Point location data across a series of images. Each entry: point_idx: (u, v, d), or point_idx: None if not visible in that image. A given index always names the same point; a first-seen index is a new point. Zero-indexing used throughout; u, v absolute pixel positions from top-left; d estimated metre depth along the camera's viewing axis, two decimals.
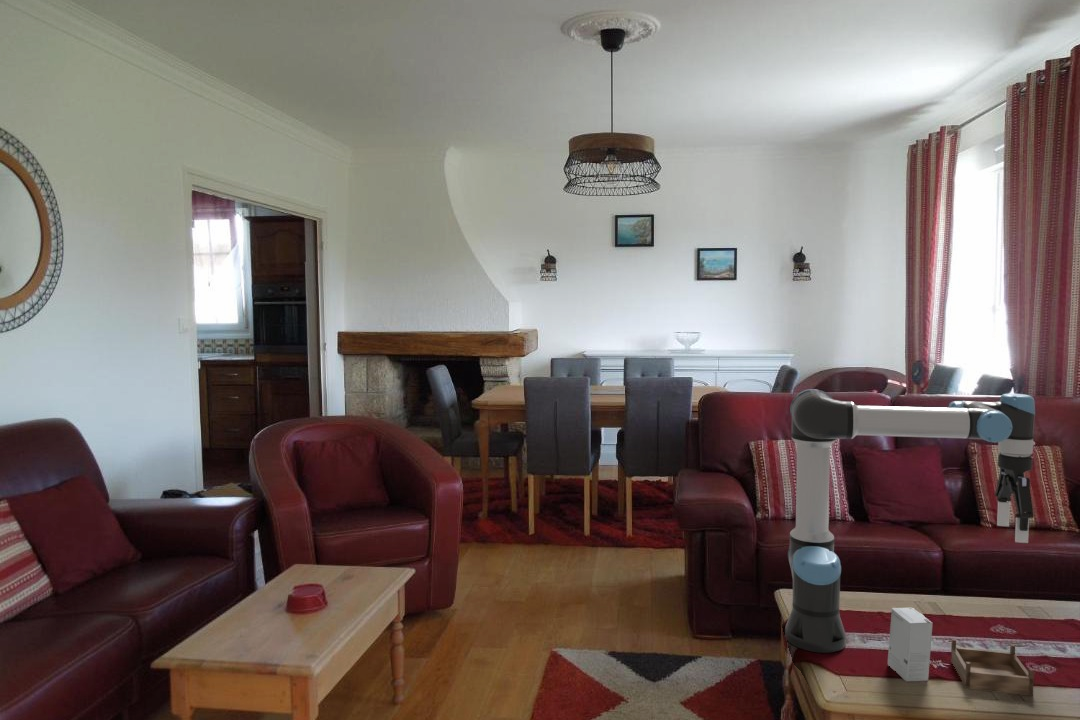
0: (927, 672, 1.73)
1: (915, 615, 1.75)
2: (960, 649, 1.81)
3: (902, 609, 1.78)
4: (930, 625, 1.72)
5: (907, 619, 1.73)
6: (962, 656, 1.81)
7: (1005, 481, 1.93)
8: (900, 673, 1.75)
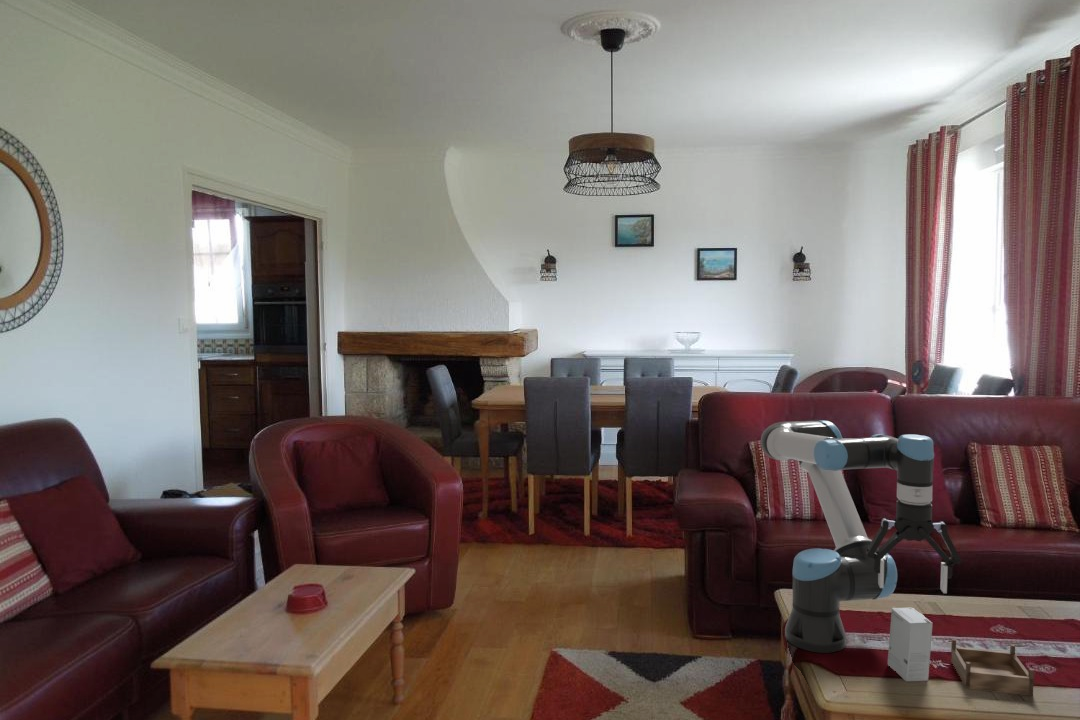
0: (927, 672, 1.73)
1: (915, 615, 1.75)
2: (960, 649, 1.81)
3: (902, 609, 1.78)
4: (930, 625, 1.72)
5: (907, 619, 1.73)
6: (962, 656, 1.81)
7: None
8: (900, 673, 1.75)
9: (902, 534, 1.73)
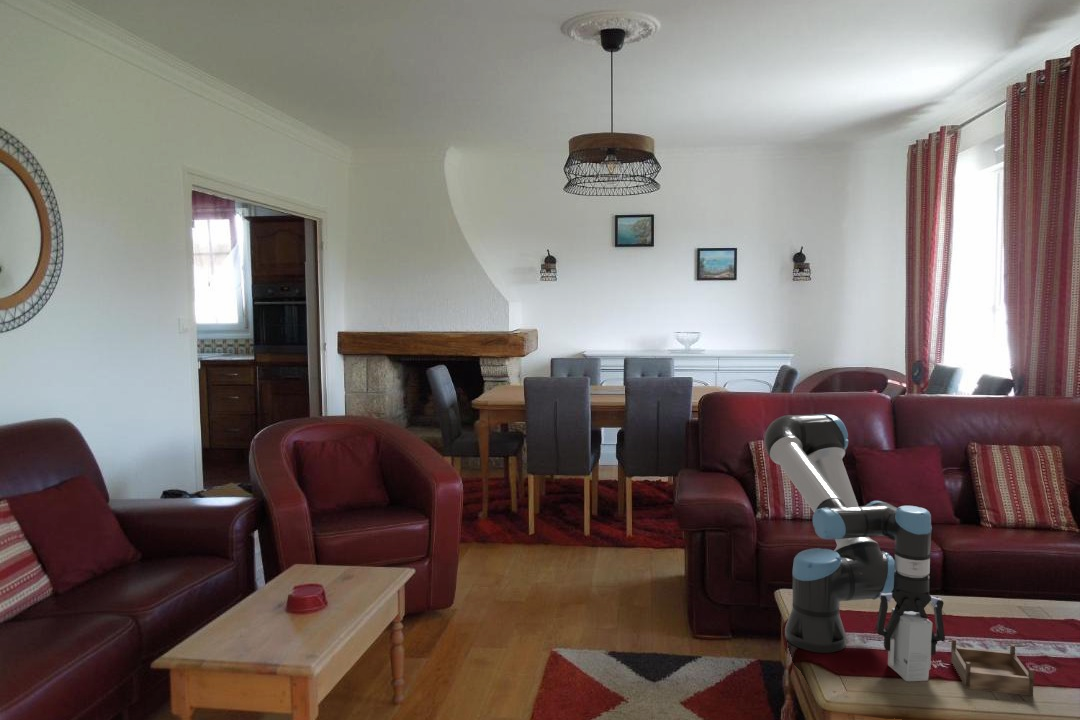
0: (927, 672, 1.73)
1: (915, 615, 1.75)
2: (960, 649, 1.81)
3: None
4: (930, 625, 1.72)
5: (907, 619, 1.73)
6: (962, 656, 1.81)
7: None
8: (900, 673, 1.75)
9: (902, 607, 1.75)
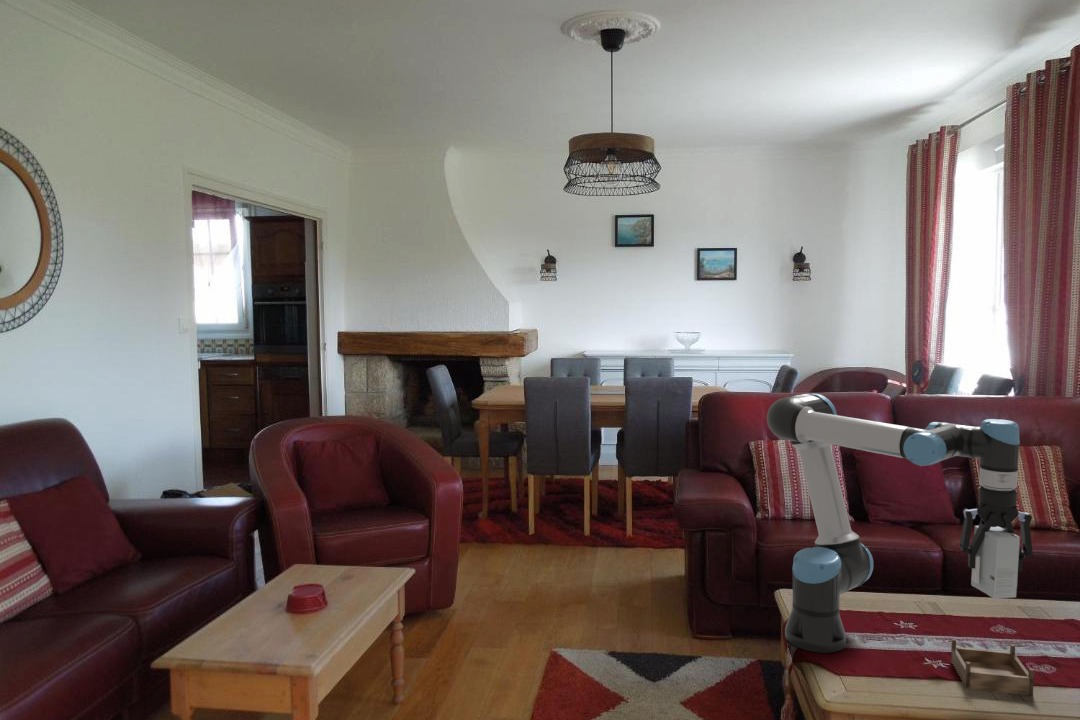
0: (1015, 588, 1.69)
1: (1001, 531, 1.71)
2: (960, 649, 1.81)
3: None
4: (1017, 539, 1.67)
5: (993, 534, 1.68)
6: (962, 656, 1.81)
7: None
8: (986, 591, 1.71)
9: (988, 522, 1.70)
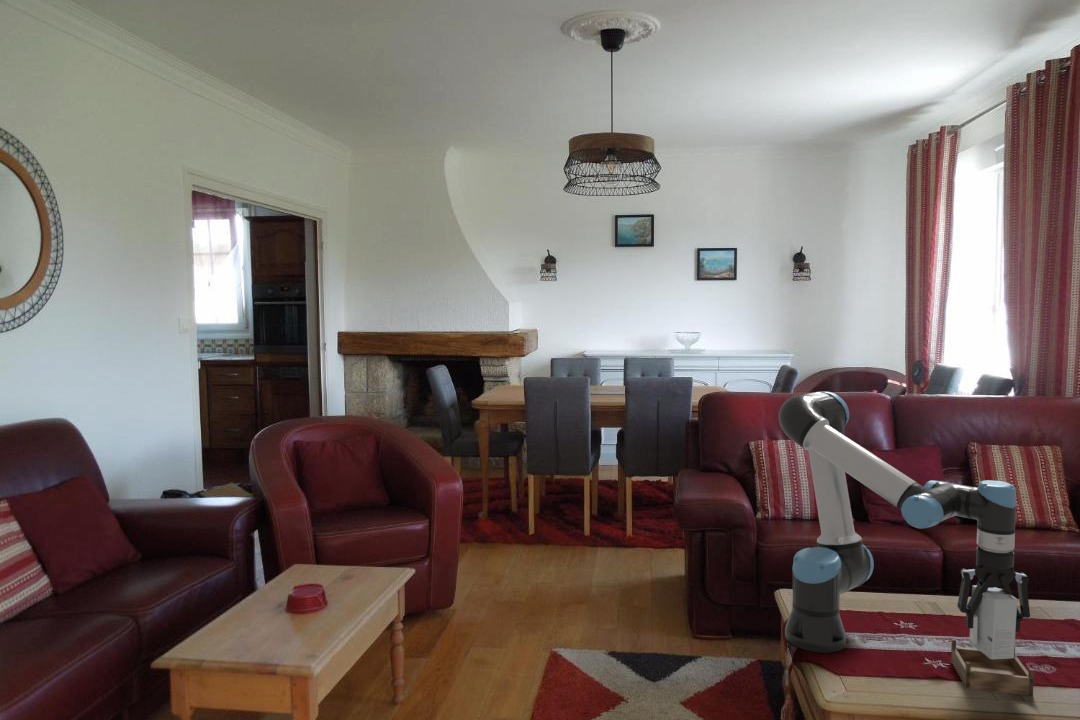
0: (1013, 649, 1.70)
1: (998, 591, 1.72)
2: (960, 649, 1.81)
3: None
4: (1015, 601, 1.68)
5: (991, 596, 1.70)
6: (962, 656, 1.81)
7: None
8: (984, 651, 1.72)
9: (985, 583, 1.71)
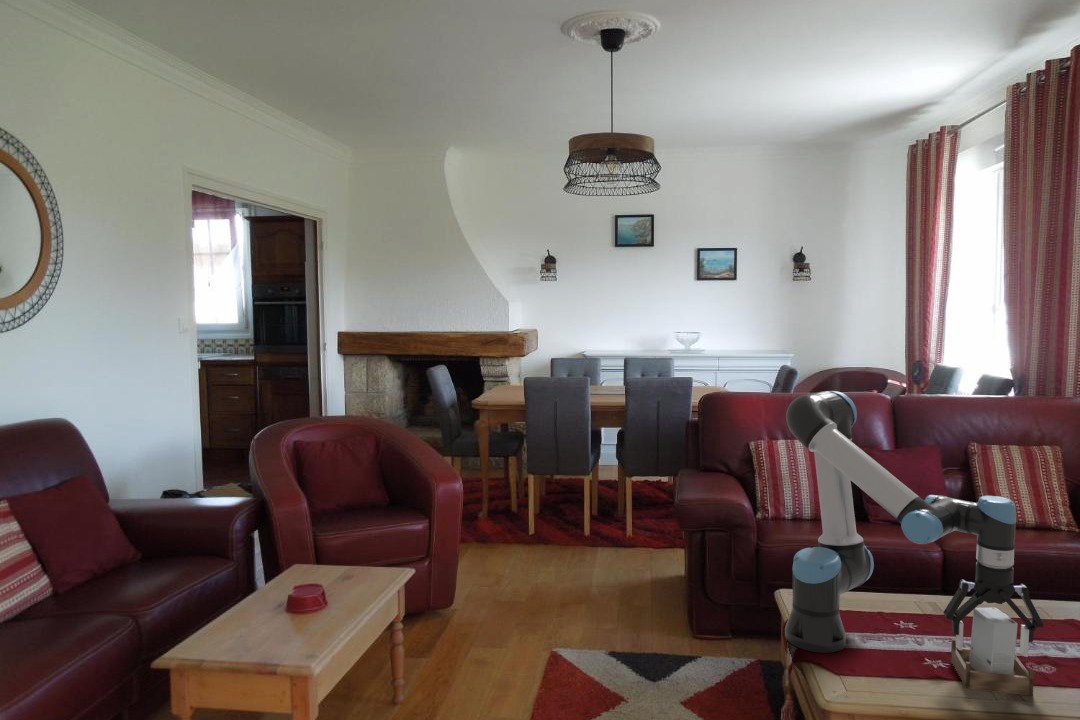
0: (1011, 673, 1.70)
1: (999, 615, 1.72)
2: None
3: (985, 609, 1.75)
4: (1015, 626, 1.69)
5: (991, 619, 1.70)
6: (962, 656, 1.81)
7: None
8: None
9: (982, 597, 1.72)
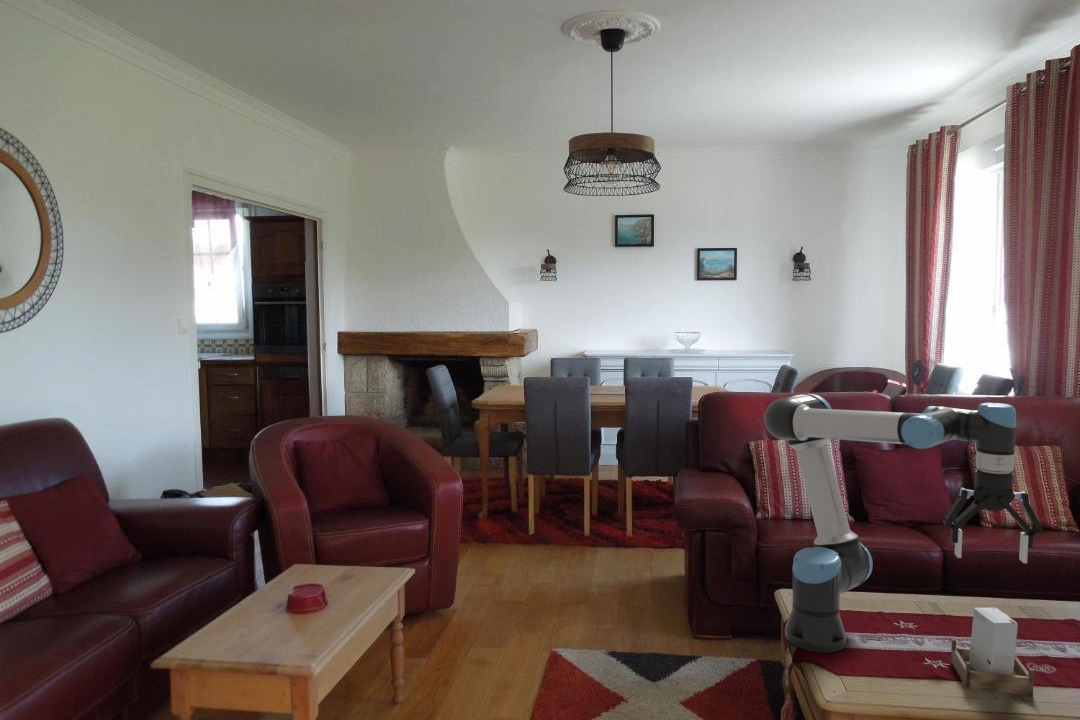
0: (1011, 673, 1.70)
1: (999, 615, 1.72)
2: (960, 649, 1.81)
3: (985, 609, 1.75)
4: (1015, 626, 1.69)
5: (991, 619, 1.70)
6: (962, 656, 1.81)
7: None
8: None
9: (982, 503, 1.71)
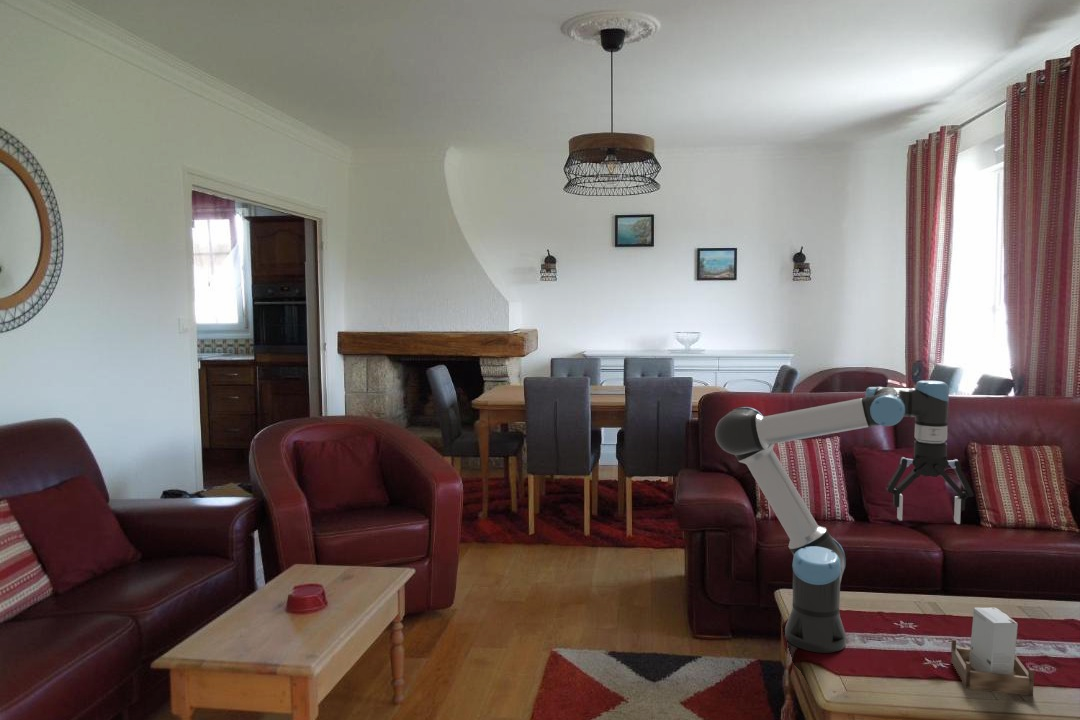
0: (1011, 673, 1.70)
1: (999, 615, 1.72)
2: (960, 649, 1.81)
3: (985, 609, 1.75)
4: (1015, 626, 1.69)
5: (991, 619, 1.70)
6: (962, 656, 1.81)
7: None
8: None
9: (919, 470, 1.90)
